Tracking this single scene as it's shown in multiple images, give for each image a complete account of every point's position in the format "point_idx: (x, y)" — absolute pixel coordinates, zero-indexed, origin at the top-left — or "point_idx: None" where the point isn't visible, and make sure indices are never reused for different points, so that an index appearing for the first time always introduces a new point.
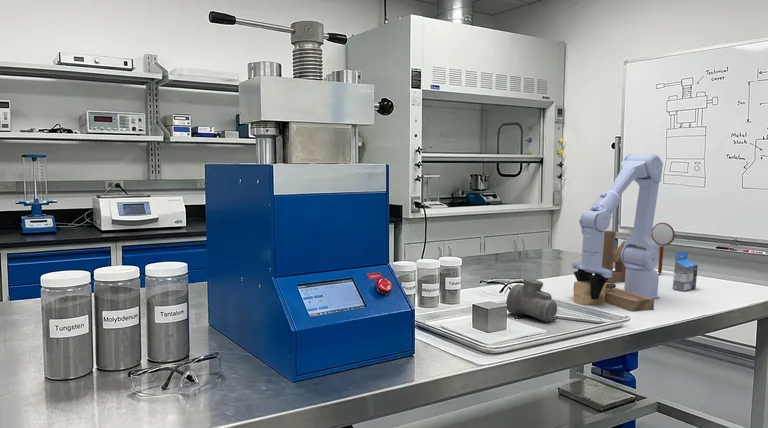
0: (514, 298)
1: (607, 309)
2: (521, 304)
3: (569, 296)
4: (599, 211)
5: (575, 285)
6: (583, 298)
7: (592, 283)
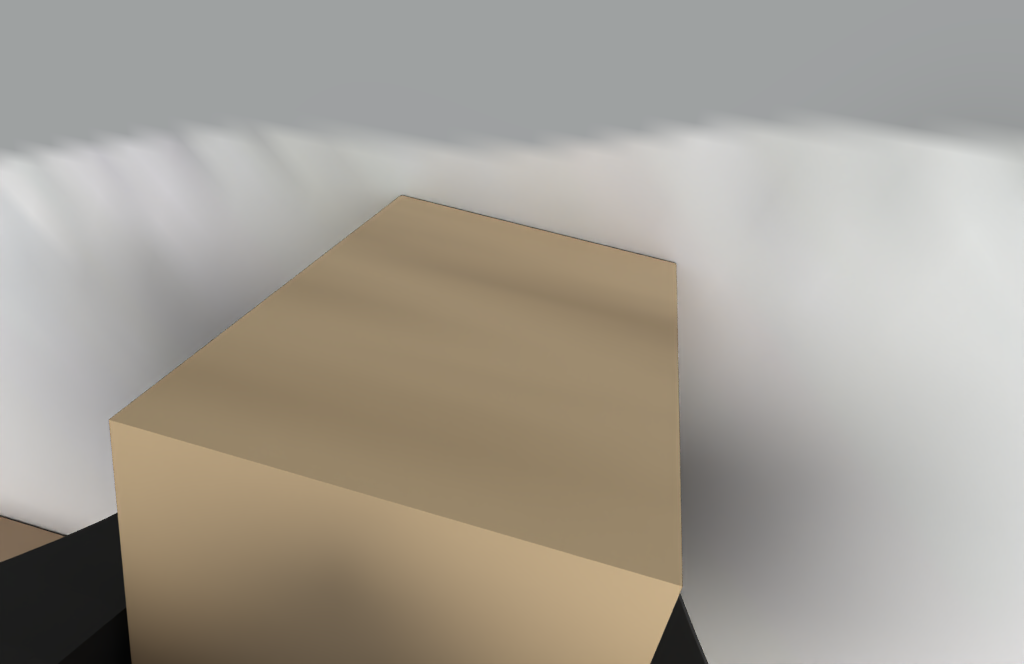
0: None
1: (64, 318)
2: None
3: (990, 560)
4: None
5: (627, 470)
6: (347, 245)
7: None
